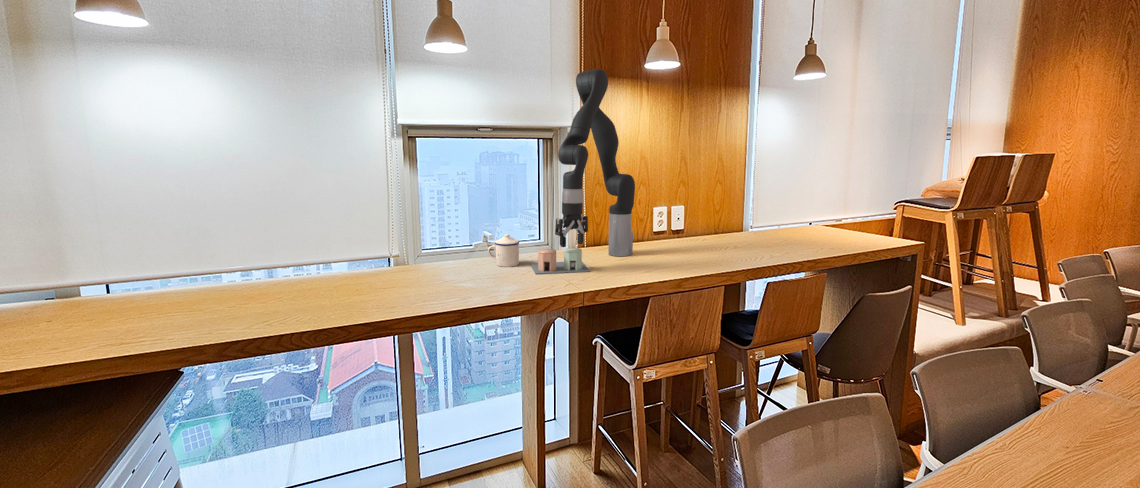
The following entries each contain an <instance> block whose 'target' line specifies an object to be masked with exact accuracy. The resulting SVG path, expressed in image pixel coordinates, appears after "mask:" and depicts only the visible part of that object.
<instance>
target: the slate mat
mask: <svg viewBox="0 0 1140 488" xmlns="http://www.w3.org/2000/svg"><path fill="white" fill-rule="evenodd" d="M529 265H530V267H531V269H532V270H533V272H534V274H535V275H548V274H549V275H552V274H553V275H554V274H573V273H574V274H575V273H576V274H577V273H591V272H592V271H591V269H590V268H588V266H587V265H586V264H585V263H584V262H583V261H582V269H580V270H575V268H570V270H566V269H564V261H556V270H555V271H551V272H550V268H544V271H539V270H538V262H530V263H529Z"/></svg>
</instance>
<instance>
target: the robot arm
mask: <svg viewBox="0 0 1140 488" xmlns="http://www.w3.org/2000/svg"><path fill="white" fill-rule="evenodd" d="M575 87H576V90H577V93H578V96H579V99H580V101H581V103H582V106H581V107H580V108H579V110H578V111H577V112H576V113H575V115H574V117H573V119H572V122H571V125H570V128H569V129H570V130H569V133H568V134H567V136H566V137H565V139H564V140H563V142H562V144H561V145H560V147H559V149H558V153H557V157H558V161H559V163H561V164H562V165H565V166H566V165H567V166H570V165H571V166H574V169H573V170H571V171H567V172H564V173H563V175H562V194H561V214H562V218H555V226H554V227H555V229H554V235H555V236H559V245H560V247H561V248H566V246H567V237H566V236H567V234H568V233H569V232H570V230H575V231H576V233H577V234H576V235H577V236H576V237H577V239H576V241H577V244H578V245H583V244H584V234H585V233H588V232H589V220H588V219H589V217H588V216H587V215H583V205H584V190H583V180H584V178H583V177H584V173H585V170H586V169H585V168H586V166H587V164H588V159H589V151H588V148H587V147H586V146H585V145H583V144H585V143H586V142H588V139H589V136H590V133H591V134H592V137H593V140H594V145H595V147H596V151H597V154H598V157H599V162H600V166H601V171H602V176H603V182H604V186H605V189H606V192H607V193H608V194H609V195H611V196H614V197H617V199H616V202H615V203H614V204H611V205H609V208H608V252H607V253H608V256H609V255H610V256H613V257H628V256H630V255H633V250H634V249H633V247H634V246H633V245H634V231H633V230H632V219H633V218H632V215H633V208H634V204H635V193H636V183H635V179H634V177H633V176H632V175H631V174H629V173H628V174H627V173H620V172H619V170H618V169H619V168H618V166H617V160H616V158H617V152H618V150H619V149H618V147H619V141H620V140H619V137H618V133H617V128H616V125H615V123H614V122H613V121H612V120H611V119H610V117H608V115H606V113H604V111H603V110H602V109H601V108H600V105H601V104H602V101H603V99H604V97H605V95H606V92H607V89H608V87H609V77H608V74H607V72H606V71H605V70H604V69H603V68H594V69H590V70H586V71H585V70H584V71H581V72H579V73H577V75H576V77H575Z"/></svg>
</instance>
